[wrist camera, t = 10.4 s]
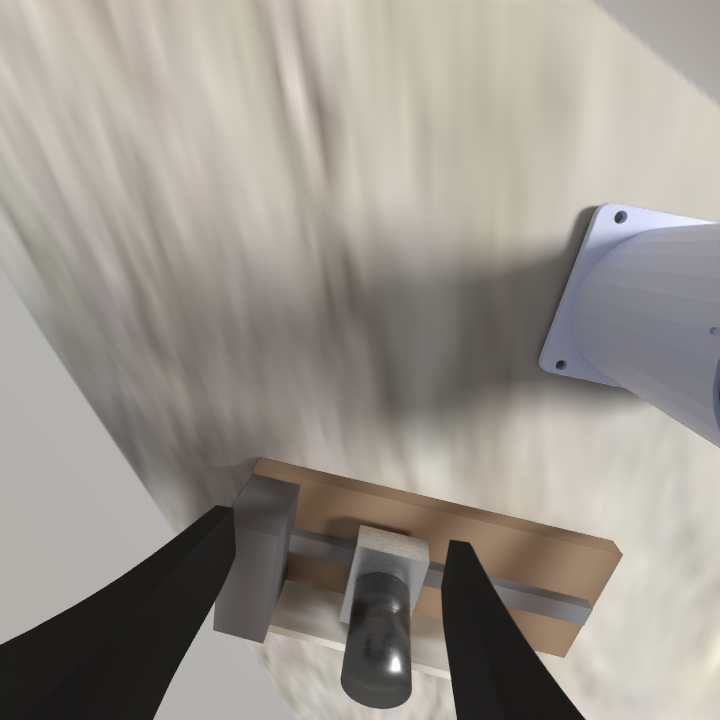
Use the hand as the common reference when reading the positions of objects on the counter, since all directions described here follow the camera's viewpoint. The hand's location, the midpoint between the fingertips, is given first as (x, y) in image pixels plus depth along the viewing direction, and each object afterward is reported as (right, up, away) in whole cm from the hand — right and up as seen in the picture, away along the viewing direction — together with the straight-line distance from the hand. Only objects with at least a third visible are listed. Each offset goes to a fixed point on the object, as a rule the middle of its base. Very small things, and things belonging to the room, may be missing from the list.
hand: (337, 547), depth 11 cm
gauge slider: (+2, -8, +10) cm, 13 cm away
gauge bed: (+4, -7, +11) cm, 14 cm away
